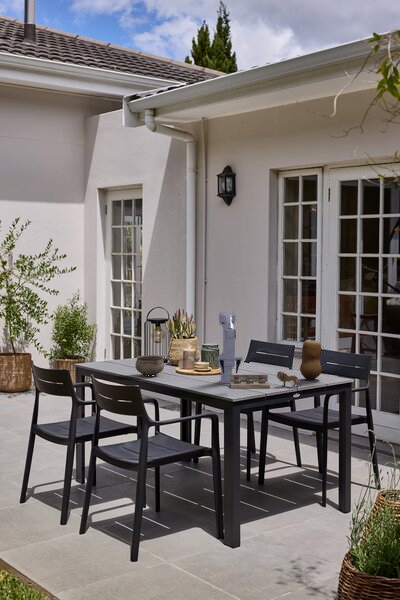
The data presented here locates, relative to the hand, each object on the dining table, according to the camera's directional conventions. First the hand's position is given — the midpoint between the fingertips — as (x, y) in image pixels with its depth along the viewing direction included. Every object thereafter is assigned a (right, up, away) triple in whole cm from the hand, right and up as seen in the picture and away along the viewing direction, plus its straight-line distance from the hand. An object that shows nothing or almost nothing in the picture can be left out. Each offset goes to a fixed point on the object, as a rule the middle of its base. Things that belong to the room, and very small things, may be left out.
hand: (230, 373), depth 462 cm
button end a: (+5, -7, +14) cm, 17 cm away
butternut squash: (+53, -8, +41) cm, 67 cm away
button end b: (+20, -7, +15) cm, 26 cm away
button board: (+12, -9, +14) cm, 21 cm away
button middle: (+12, -7, +14) cm, 20 cm away
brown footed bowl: (-50, -7, +56) cm, 76 cm away
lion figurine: (+35, -10, +14) cm, 39 cm away
